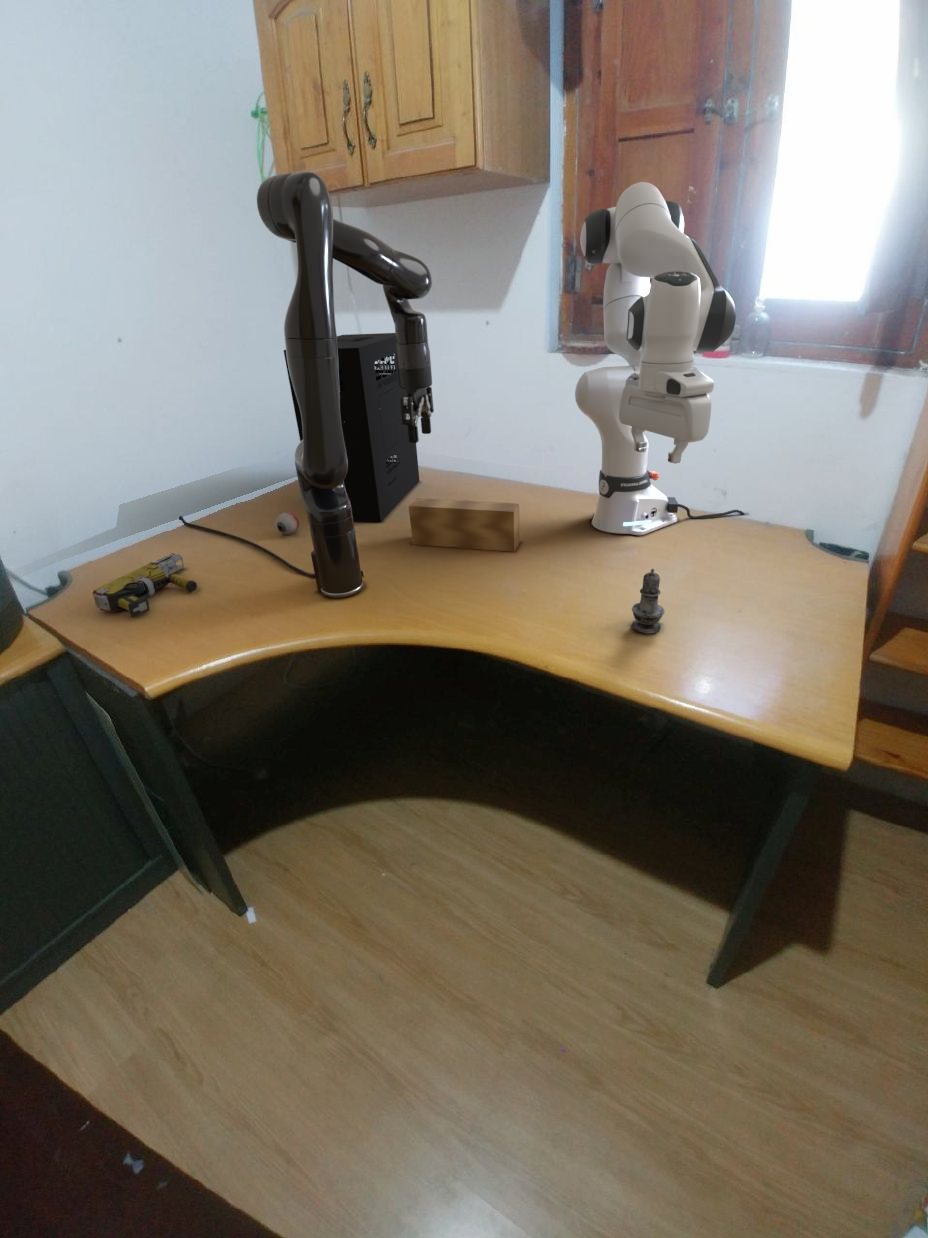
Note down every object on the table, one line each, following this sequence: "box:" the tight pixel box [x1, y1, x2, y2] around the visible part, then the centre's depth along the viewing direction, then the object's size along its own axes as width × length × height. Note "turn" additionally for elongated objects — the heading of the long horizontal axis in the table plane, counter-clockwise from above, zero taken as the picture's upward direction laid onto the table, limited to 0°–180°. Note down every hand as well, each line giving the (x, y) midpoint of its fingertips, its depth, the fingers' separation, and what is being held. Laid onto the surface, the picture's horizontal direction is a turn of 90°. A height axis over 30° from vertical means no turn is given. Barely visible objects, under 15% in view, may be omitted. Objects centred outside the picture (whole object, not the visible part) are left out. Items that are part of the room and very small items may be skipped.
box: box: [408, 497, 520, 553], centre depth 151 cm, size 27×6×10 cm, turn 73°
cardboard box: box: [283, 332, 420, 523], centre depth 176 cm, size 38×20×45 cm, turn 167°
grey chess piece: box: [631, 568, 665, 634], centre depth 111 cm, size 6×6×12 cm
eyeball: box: [275, 511, 300, 536], centre depth 163 cm, size 6×6×6 cm
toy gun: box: [92, 552, 198, 618], centre depth 136 cm, size 5×24×15 cm
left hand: (420, 437), depth 143 cm, fingers open, 8 cm apart
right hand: (656, 456), depth 113 cm, fingers open, 8 cm apart
